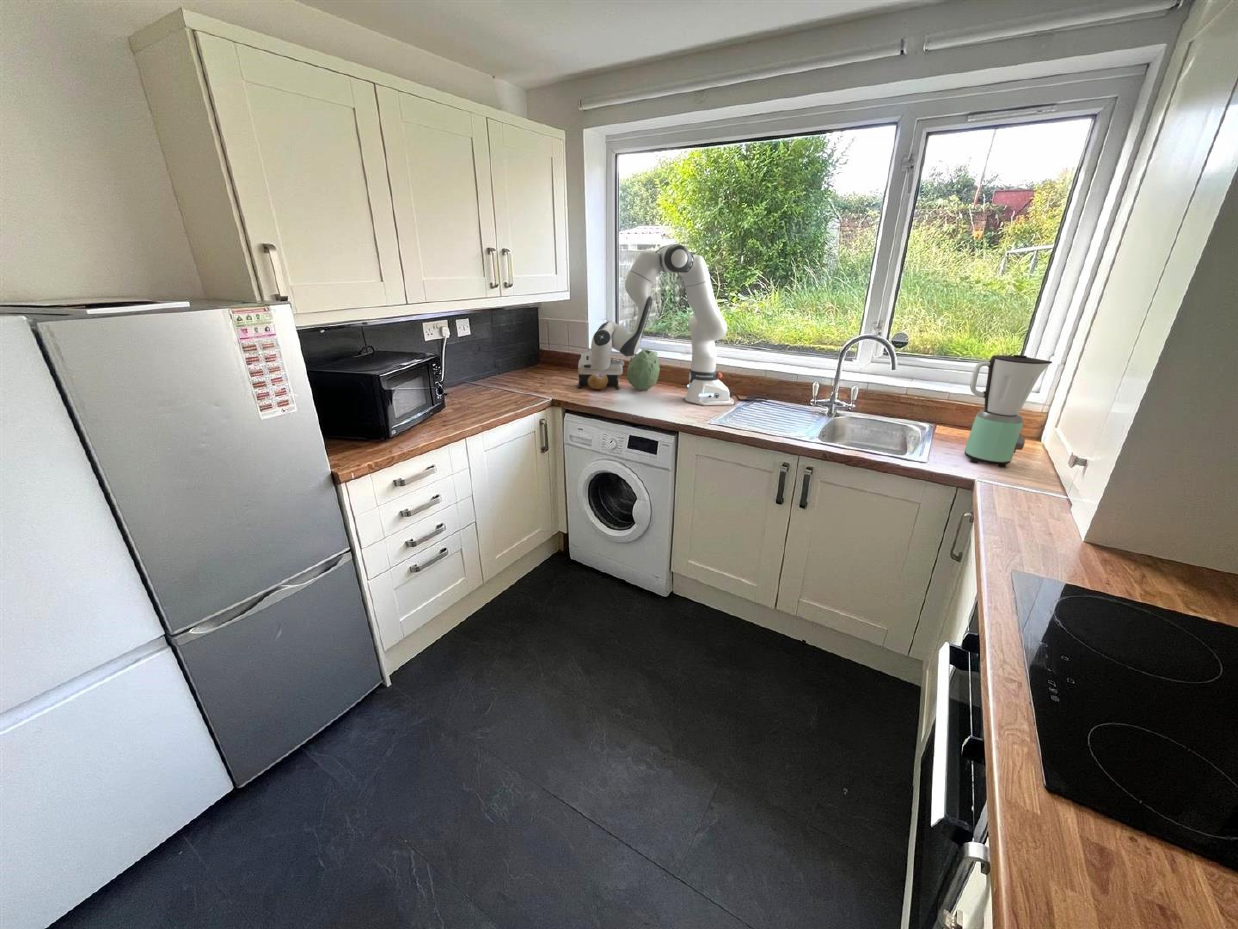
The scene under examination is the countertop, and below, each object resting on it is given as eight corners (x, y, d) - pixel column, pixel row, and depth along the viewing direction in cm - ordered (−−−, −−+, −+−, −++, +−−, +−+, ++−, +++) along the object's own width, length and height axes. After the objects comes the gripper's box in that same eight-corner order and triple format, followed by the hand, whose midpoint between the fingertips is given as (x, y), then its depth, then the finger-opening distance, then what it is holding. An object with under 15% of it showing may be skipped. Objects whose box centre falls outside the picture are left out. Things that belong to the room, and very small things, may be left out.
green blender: (1011, 459, 170) (1046, 355, 157) (1021, 472, 158) (1060, 361, 145) (946, 449, 177) (975, 349, 164) (951, 461, 166) (983, 355, 153)
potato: (611, 387, 253) (611, 371, 250) (603, 392, 240) (603, 376, 237) (593, 385, 255) (593, 369, 252) (584, 391, 242) (584, 374, 240)
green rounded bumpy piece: (620, 391, 244) (621, 350, 237) (635, 384, 260) (637, 345, 253) (649, 395, 238) (652, 353, 231) (663, 388, 254) (666, 348, 247)
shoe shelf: (617, 385, 257) (617, 364, 253) (618, 389, 248) (619, 367, 244) (578, 384, 255) (578, 363, 251) (578, 388, 247) (578, 366, 243)
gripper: (624, 354, 220) (622, 372, 232) (577, 353, 218) (578, 371, 231) (624, 366, 217) (622, 383, 230) (577, 365, 216) (578, 382, 228)
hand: (599, 377), depth 230 cm, fingers closed
